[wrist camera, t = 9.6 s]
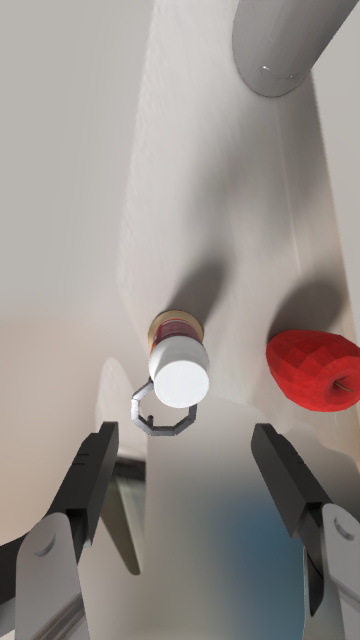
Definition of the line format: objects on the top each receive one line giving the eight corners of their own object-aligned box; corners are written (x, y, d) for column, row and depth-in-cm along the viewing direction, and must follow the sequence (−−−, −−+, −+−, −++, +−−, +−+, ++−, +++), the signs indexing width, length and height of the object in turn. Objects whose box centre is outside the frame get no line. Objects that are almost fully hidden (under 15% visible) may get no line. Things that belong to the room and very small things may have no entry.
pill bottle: (148, 321, 24) (134, 360, 13) (191, 312, 24) (212, 342, 13) (159, 360, 26) (154, 422, 15) (199, 351, 26) (223, 406, 15)
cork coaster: (149, 308, 24) (148, 309, 23) (204, 312, 25) (205, 312, 24) (147, 359, 26) (147, 361, 26) (199, 361, 27) (199, 363, 26)
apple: (239, 357, 27) (284, 410, 17) (277, 306, 25) (354, 329, 15) (285, 383, 29) (351, 445, 19) (323, 337, 27) (421, 377, 17)
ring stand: (134, 371, 26) (131, 381, 24) (197, 373, 27) (199, 382, 25) (134, 422, 29) (131, 435, 27) (191, 423, 30) (193, 435, 27)
